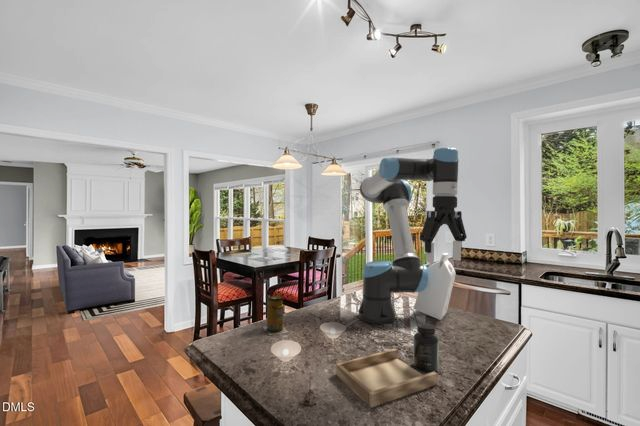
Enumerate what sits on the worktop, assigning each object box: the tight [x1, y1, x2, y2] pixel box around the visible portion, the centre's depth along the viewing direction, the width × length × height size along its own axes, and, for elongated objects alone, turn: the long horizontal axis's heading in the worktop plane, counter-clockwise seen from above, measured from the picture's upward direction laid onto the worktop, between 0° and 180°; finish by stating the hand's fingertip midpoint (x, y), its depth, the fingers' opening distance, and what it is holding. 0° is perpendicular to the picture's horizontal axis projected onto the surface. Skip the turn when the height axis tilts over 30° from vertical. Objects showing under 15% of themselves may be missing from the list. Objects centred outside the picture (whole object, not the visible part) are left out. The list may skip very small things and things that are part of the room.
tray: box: [335, 348, 438, 408], centre depth 84 cm, size 21×16×3 cm
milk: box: [413, 252, 457, 321], centre depth 136 cm, size 12×12×26 cm
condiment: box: [262, 295, 289, 336], centre depth 116 cm, size 7×8×12 cm
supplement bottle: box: [412, 322, 440, 374], centre depth 91 cm, size 7×7×12 cm
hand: (443, 261), depth 104 cm, fingers open, 12 cm apart
